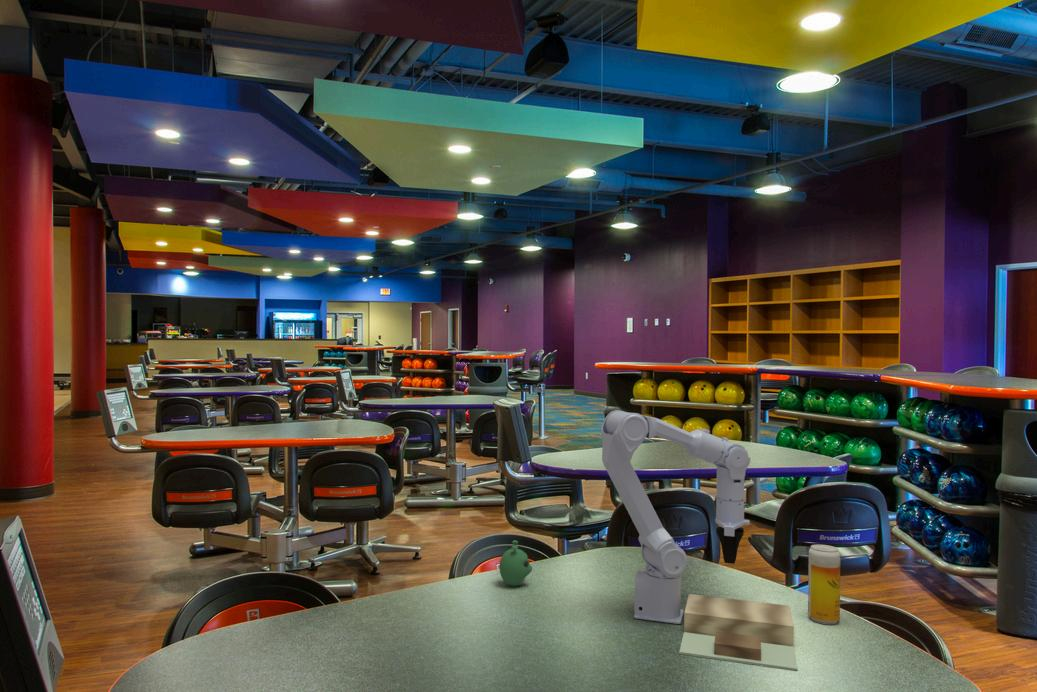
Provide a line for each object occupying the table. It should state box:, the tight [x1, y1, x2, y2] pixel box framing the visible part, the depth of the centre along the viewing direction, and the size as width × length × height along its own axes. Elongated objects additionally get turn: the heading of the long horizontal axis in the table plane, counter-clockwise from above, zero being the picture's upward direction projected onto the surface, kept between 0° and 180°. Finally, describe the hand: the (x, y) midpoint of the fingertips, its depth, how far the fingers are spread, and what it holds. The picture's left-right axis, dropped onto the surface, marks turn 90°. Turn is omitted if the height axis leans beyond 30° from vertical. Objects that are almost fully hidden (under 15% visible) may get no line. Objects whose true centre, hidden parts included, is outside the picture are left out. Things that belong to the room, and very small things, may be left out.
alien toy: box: [499, 539, 533, 587], centre depth 165 cm, size 7×8×10 cm
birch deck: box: [683, 593, 795, 647], centre depth 140 cm, size 20×12×4 cm, turn 72°
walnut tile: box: [714, 631, 761, 661], centre depth 128 cm, size 8×6×2 cm
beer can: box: [807, 544, 841, 625], centre depth 147 cm, size 6×6×15 cm
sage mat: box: [678, 631, 798, 672], centre depth 129 cm, size 20×10×1 cm, turn 72°
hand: (729, 562), depth 151 cm, fingers closed
